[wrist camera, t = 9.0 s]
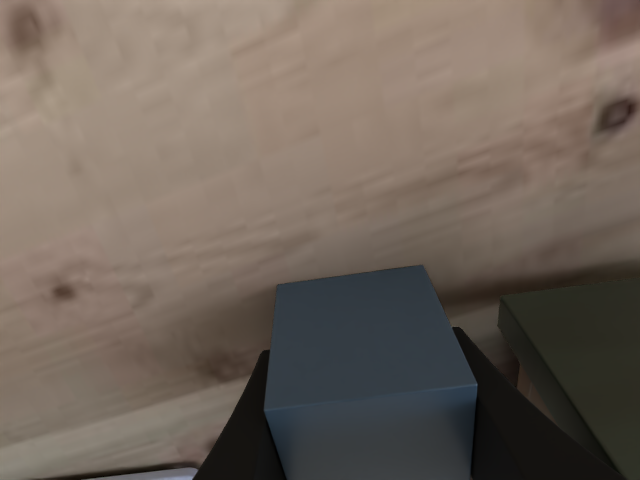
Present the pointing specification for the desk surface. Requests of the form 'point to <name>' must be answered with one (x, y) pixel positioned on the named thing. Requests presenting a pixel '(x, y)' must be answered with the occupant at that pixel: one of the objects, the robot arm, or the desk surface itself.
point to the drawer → (582, 363)
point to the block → (368, 381)
